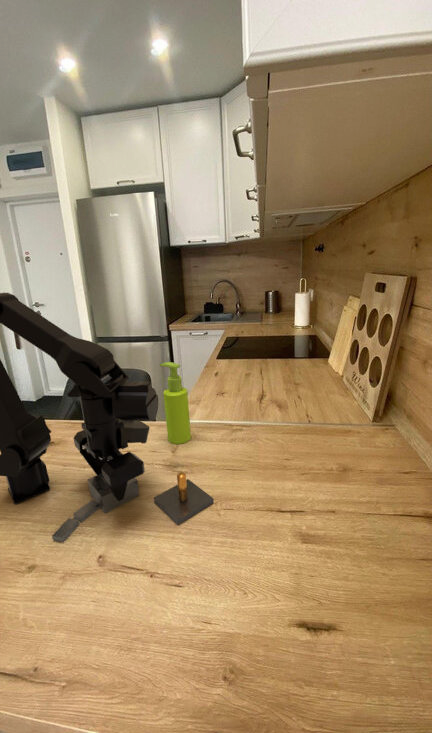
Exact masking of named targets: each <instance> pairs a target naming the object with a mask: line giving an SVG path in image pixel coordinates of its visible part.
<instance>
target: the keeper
mask: <svg viewBox="0 0 432 733" xmlns="http://www.w3.org/2000/svg"><path fill="white" fill-rule="evenodd" d="M176 478H177V479H176V480H177V484H176V485H174V486H173V487H171V488H169V489H166V490H165V491H163V492H161V493H160V494H157V495H155V496H154V497H153V502H154V503H155V504H156V505H157V506H158V508H160V510H162V511H163V512H164V513H165V514H166V515H167V516H168V517H169V518H170V519H171V520H172V521H173V522H175V523H176V525H177V526H180V525H181V524H182V523H184V522H186V521H187V520H189V519H191V518H192V517H193V516H195V515H197V514H199V513H200V512H202V511H203V510H205V509H206V508H208V507H210V506H211V505H213V504H214V499H215V498H214V497H212V496H211V495H210V494H208V493H207V492H206V491H205V490H203V489H202V488H201V487H199V486H198V485H197V484H195V483H194V482H193V481H191V480H190V479H189V478H188V479H187V475H186V472H182V471H181V472H179V473H177V474H176Z"/></svg>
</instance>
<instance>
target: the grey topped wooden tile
mask: <svg viewBox="0 0 432 733" xmlns="http://www.w3.org/2000/svg"><path fill="white" fill-rule="evenodd" d="M99 509H100V507H99V503H97V502H95V500H93V499H90V500H89V501H87V503H85V504H84V505H83V506H81V507H80V508H78V509H77V510H76V511H74V512H73V514H72V515H73V519H76V520H78V521H79V523H82V522H84V521H85V520H86V519H88V518H89V517H91V516H92V515H93V514H95V512H97V511H98V510H99Z"/></svg>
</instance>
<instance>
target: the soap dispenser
mask: <svg viewBox="0 0 432 733" xmlns="http://www.w3.org/2000/svg"><path fill="white" fill-rule="evenodd" d="M159 366H160V367H167V368H168V369H169V373H170V375H169V376H168V377H167V378H166V380H167V389H166V388H165V389H164V390H163V404H164V411H165V422H166V433H167V441H168V442H169V443H171V444H174V445H182V444H185V443H187V442H189V441H190V440H191V438H192V436H191V435H192V433H191V421H190V408H189V394H188V389H187V388H186V387H183V382H182V376H181V375H178V368H180V367H181V365H180V364H178V363H176V362H172V361H166V362H163V363H161V364H159Z"/></svg>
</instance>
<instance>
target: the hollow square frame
mask: <svg viewBox="0 0 432 733" xmlns="http://www.w3.org/2000/svg"><path fill="white" fill-rule="evenodd" d="M102 475H103V474H102V473H101V474H99V475H95V476H92V477H90V478H88V479H87V484H88V489H89V495H90V497H91V498H92V500H93V501H95V502H97V503H99V509H101V510H102V512H103V513H104V514H107V513H108V512H111V511H113V510H115V509H117V508H119V507H121V506H122V505H124V504H126V503H128V502H131V501H132V500H134V499H136V498H138V497H140V491H139V484H138V479H137V477H135V478H133V479H131V480H129V481H128V483H127V487H126V491H125V496H124V499H122V500H120V501H118V500H117V499H116V497H115V496H114V495H113V493H112V492H111V490H110V489H109V487H108V486H107V485H106V483H105V482H104V480H103V479H102V478H101V476H102Z"/></svg>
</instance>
